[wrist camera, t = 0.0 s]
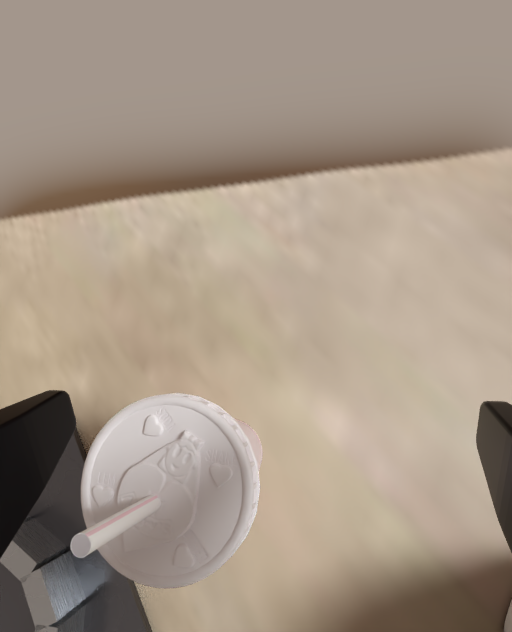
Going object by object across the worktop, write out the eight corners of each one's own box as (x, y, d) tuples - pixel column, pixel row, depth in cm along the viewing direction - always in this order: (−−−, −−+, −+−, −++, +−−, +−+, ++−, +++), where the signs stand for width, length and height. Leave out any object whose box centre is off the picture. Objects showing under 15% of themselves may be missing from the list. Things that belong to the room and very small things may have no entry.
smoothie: (155, 470, 24) (-68, 561, 11) (212, 373, 25) (67, 345, 11) (249, 538, 23) (124, 743, 9) (308, 433, 23) (272, 483, 10)
